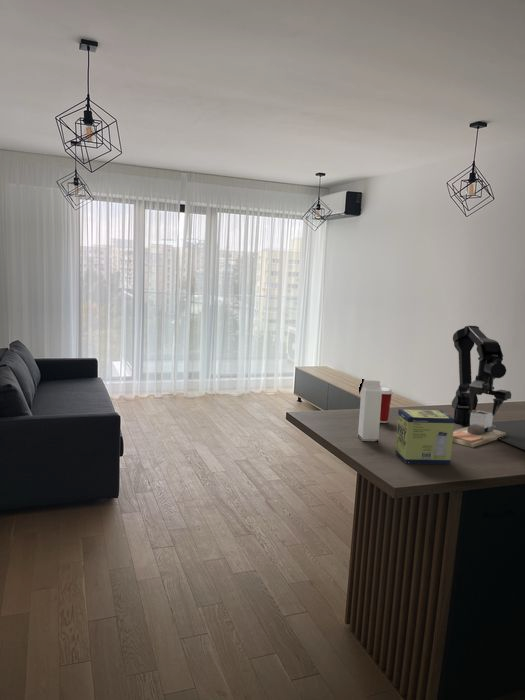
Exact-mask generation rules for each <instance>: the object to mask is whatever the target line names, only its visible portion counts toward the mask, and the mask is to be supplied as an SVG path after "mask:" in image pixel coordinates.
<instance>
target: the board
mask: <svg viewBox="0 0 525 700" xmlns="http://www.w3.org/2000/svg"><path fill="white" fill-rule="evenodd" d="M467 431H468V426H465V427H461V428H458V429H454V430H453V441H452V443H455V444H458V445H462V446H465V447H469V448H475V447H479V446H481V445H484V444H487V443H490V442H493V441H496V440H498V439H497V438H498V437H501V436H503V435H507V432H506V431H501V430H497V429H495V428H493V431H491V432H488V433H487V432H484V434H481V435H476V434H472V433H468V432H467Z"/></svg>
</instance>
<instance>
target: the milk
mask: <svg viewBox="0 0 525 700" xmlns="http://www.w3.org/2000/svg"><path fill="white" fill-rule="evenodd" d="M381 398H382V390H381V381H380V380H363V384H362V385H361V388H360V399H359V400H360V403H359V404H360V405H359V418H358V430H357V432H358V433H357V435H358V434H359V435H360V436H361V437H362V438H363V439H378V440H379V434H380V411H381Z"/></svg>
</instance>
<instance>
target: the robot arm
mask: <svg viewBox="0 0 525 700" xmlns="http://www.w3.org/2000/svg"><path fill="white" fill-rule="evenodd" d="M452 341H453V345H454V348H455V350H456V351H457V353H458V373H459V377H458V378H459V385H458V388H457V390H456V391H455V396H454V397H453V399H452V401H451V407H452V408H453V409H454V414H453V418H454V424H459V425H463V426H468V425H470V416H471V412H473V411H476V410H477V409H476V408H477V406H478V402H479V399H478V398H479V397H478V396H482V395H483V394H485V395H489V396H493V397H494V398H493V399H492V400H493V406H492V412H491V413H492V415H493V417H494V416H496V414H497V412H498V410H499V409H500V407H501V406H502V404H503V403H504V401H505V402H506V401H508V400H509V399H510V400H511V399H512V393H511V391H510V390H505V389H498V390H495V386H494V380H495V379H501V378H504V377H505V375H506V374H507V368H506V366H505V364H504V363H502V362H503V360H504V354H503V352H502V348H501V345H500V343H499V341H497V340H496V339H491V338H488V337H487V336H486V334H484V333H483V331H481V330H480V327H479V326H477V325H465V326H464V327H463V328H461V329H458V330H456V331H455V332H454V333H453V336H452ZM475 345H476V352H477V354H478V356H479V357H477V360H478V371H477V375H476V376H475V379H474V381H472V360H471V359H472V358H471V351H472V349H473V348H474V346H475ZM467 424H468V425H467Z"/></svg>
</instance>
